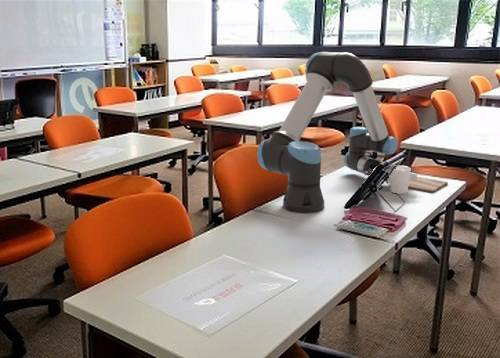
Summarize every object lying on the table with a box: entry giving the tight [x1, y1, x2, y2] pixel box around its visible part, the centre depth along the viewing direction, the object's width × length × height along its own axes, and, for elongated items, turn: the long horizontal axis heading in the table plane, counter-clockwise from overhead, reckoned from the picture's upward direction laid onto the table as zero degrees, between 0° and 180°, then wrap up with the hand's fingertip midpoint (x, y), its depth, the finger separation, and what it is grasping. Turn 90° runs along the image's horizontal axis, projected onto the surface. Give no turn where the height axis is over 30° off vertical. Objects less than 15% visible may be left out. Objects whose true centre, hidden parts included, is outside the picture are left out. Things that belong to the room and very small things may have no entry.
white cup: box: [389, 164, 412, 195], centre depth 203 cm, size 8×8×10 cm
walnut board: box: [408, 176, 449, 194], centre depth 213 cm, size 16×16×1 cm
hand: (405, 179), depth 200 cm, fingers open, 10 cm apart
